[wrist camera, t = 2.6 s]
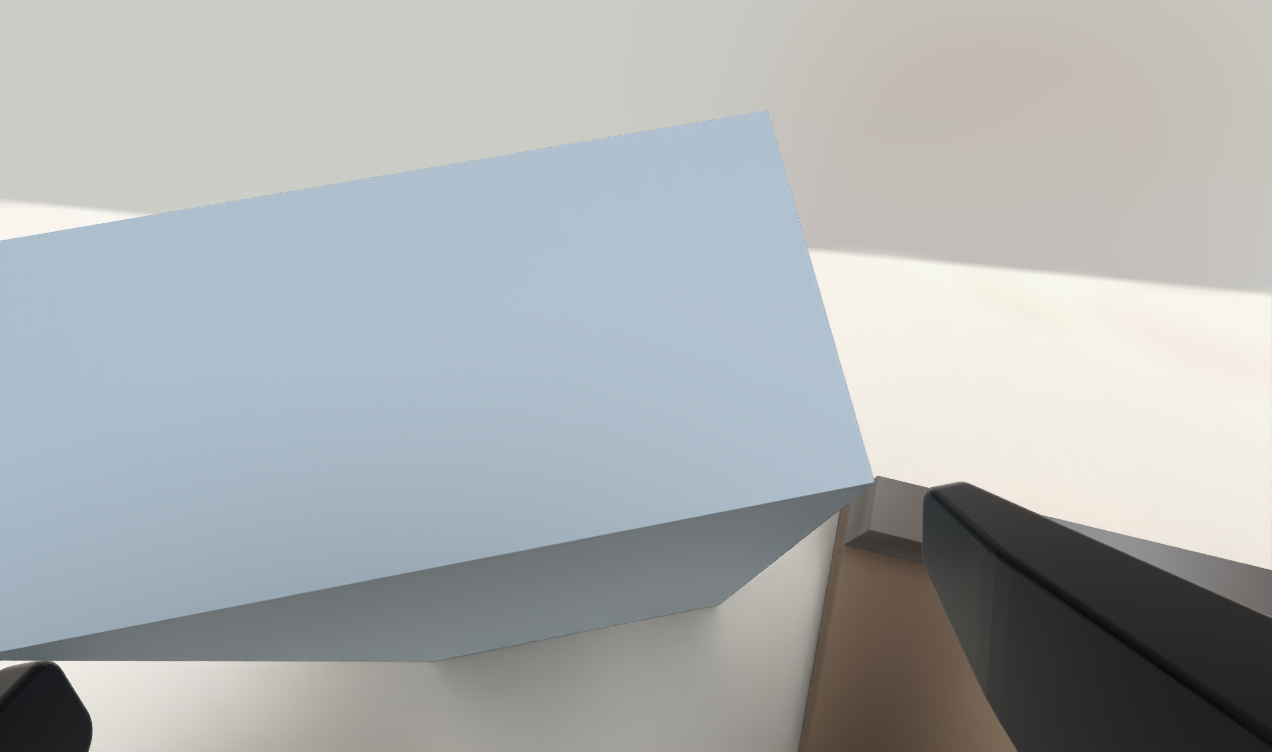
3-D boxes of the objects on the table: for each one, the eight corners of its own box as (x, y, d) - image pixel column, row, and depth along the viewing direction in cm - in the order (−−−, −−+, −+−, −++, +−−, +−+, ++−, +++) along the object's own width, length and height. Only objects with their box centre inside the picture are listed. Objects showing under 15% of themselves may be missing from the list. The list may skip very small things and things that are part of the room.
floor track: (783, 839, 16) (812, 877, 13) (844, 487, 18) (881, 454, 15) (1568, 1060, 15) (1789, 1157, 12) (1533, 654, 17) (1712, 652, 14)
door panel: (433, 661, 17) (-45, 660, 5) (417, 517, 18) (-15, 243, 6) (720, 604, 17) (874, 482, 6) (689, 465, 18) (767, 111, 7)
